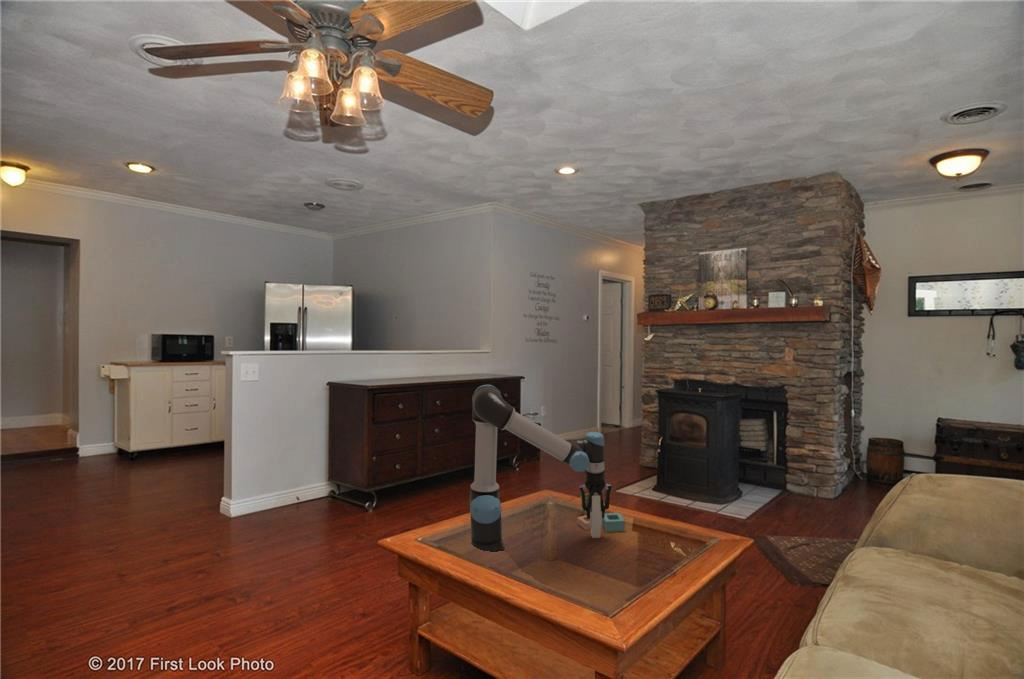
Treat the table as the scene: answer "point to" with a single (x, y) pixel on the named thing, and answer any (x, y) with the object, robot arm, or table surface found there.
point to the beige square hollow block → (583, 522)
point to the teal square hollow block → (613, 522)
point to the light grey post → (596, 516)
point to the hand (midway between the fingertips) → (595, 525)
